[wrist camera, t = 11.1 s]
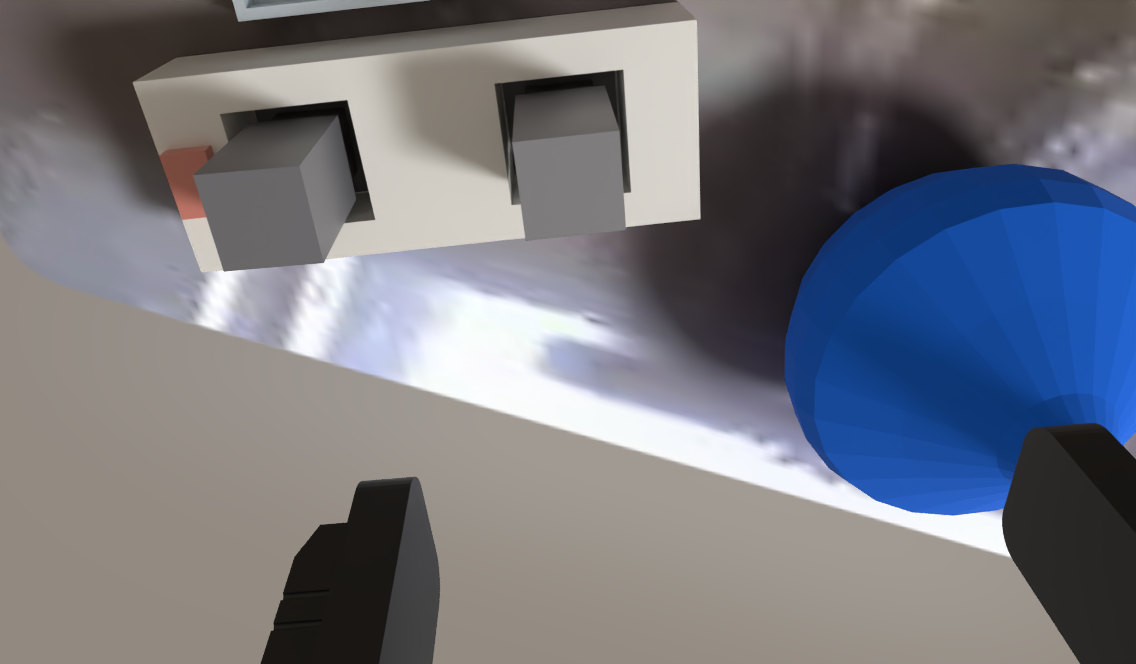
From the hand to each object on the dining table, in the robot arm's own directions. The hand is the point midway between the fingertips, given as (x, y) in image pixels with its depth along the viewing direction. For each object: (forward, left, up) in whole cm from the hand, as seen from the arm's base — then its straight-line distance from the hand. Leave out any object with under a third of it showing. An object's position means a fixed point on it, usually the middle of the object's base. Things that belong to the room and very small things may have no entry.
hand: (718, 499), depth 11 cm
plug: (+3, -14, -32) cm, 34 cm away
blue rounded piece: (+15, +18, -33) cm, 40 cm away
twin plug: (+3, -1, -32) cm, 32 cm away
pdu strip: (+3, -7, -33) cm, 34 cm away
